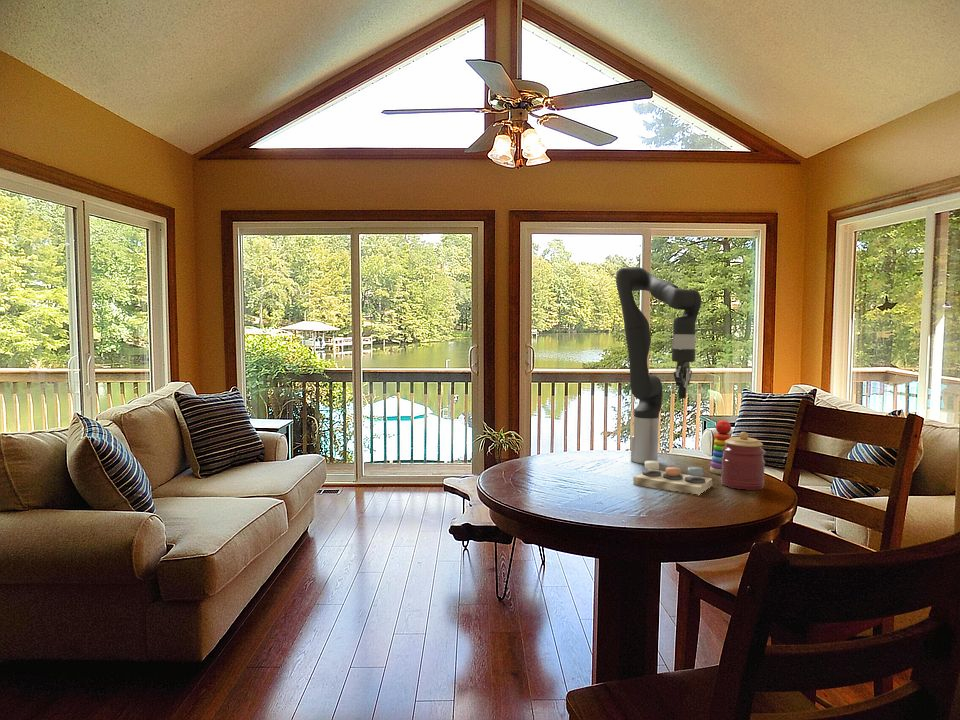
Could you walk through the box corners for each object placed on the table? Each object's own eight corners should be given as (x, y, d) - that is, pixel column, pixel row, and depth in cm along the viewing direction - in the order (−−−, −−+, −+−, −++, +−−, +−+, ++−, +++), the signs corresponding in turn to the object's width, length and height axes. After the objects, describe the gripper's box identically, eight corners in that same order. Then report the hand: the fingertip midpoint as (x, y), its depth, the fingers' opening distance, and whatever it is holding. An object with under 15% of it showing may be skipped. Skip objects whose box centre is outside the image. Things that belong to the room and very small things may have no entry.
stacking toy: (737, 475, 204) (739, 422, 204) (714, 475, 204) (716, 421, 204) (728, 470, 212) (730, 418, 211) (706, 470, 212) (707, 418, 212)
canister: (745, 480, 198) (746, 428, 198) (773, 489, 186) (775, 434, 185) (712, 482, 195) (713, 429, 194) (738, 492, 182) (740, 435, 182)
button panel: (633, 484, 190) (633, 474, 190) (648, 476, 202) (648, 466, 201) (699, 495, 178) (700, 484, 178) (712, 486, 189) (712, 476, 189)
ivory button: (642, 468, 193) (642, 462, 193) (647, 465, 197) (647, 460, 197) (656, 470, 190) (656, 464, 190) (661, 467, 194) (661, 461, 194)
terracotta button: (663, 474, 189) (663, 468, 189) (668, 472, 193) (668, 466, 193) (677, 476, 186) (677, 470, 186) (682, 474, 190) (682, 468, 190)
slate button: (685, 474, 185) (685, 468, 185) (689, 472, 189) (690, 466, 188) (700, 477, 182) (700, 470, 182) (704, 474, 186) (704, 468, 186)
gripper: (678, 347, 208) (677, 396, 209) (666, 347, 197) (664, 399, 198) (700, 347, 203) (699, 397, 204) (689, 348, 193) (687, 400, 193)
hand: (682, 398), depth 201 cm, fingers closed
